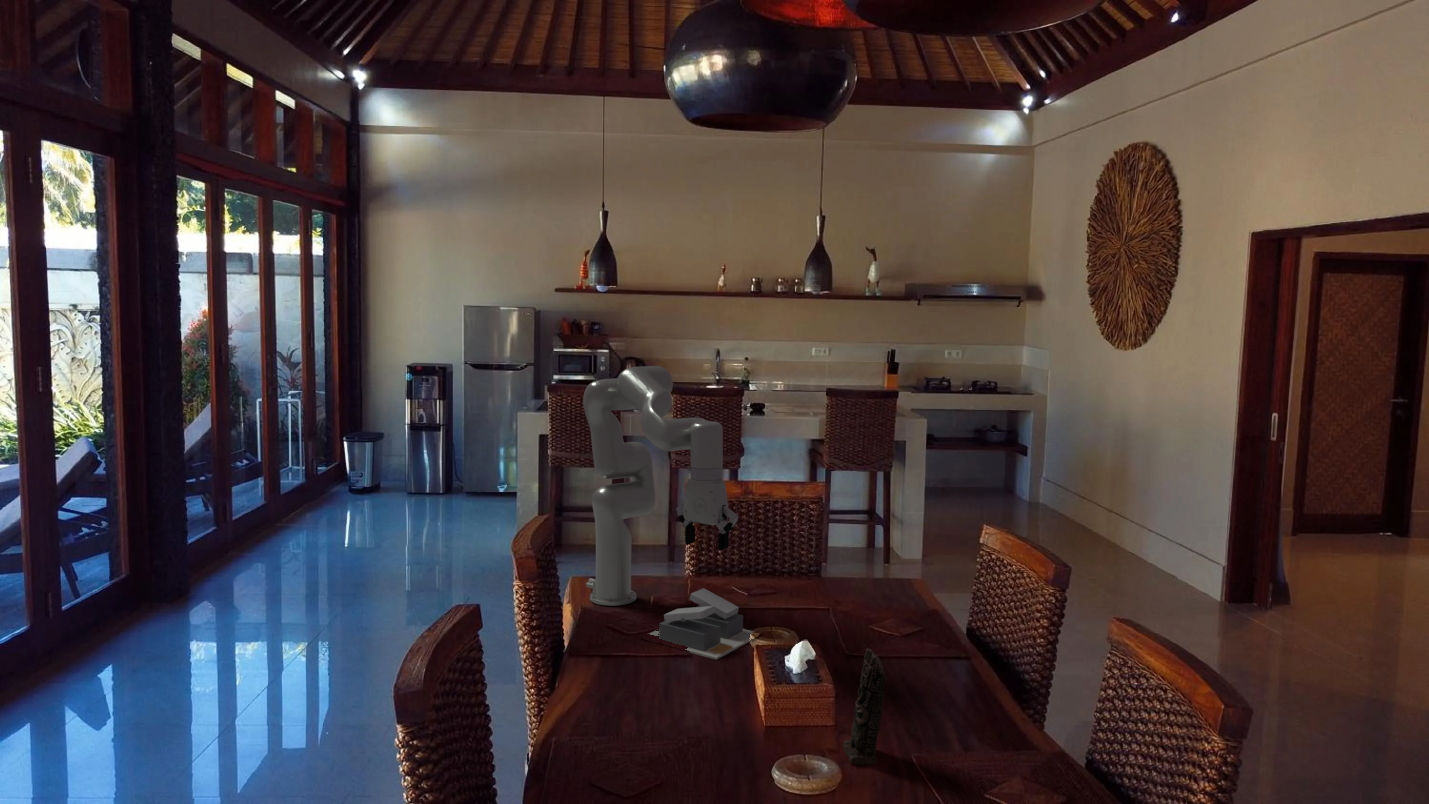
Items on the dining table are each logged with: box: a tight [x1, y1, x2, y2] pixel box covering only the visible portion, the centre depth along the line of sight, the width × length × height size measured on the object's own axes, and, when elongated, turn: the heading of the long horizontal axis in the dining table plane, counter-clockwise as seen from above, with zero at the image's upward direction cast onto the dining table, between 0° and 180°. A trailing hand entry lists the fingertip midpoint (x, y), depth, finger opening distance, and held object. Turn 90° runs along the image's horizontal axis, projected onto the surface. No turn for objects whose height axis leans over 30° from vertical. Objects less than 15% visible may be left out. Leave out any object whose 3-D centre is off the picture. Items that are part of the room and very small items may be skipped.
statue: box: [842, 648, 887, 765], centre depth 180 cm, size 7×7×20 cm
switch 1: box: [663, 606, 715, 623], centre depth 236 cm, size 11×6×2 cm, turn 56°
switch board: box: [648, 604, 753, 660], centre depth 241 cm, size 22×20×4 cm
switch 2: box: [689, 588, 740, 619], centre depth 244 cm, size 11×6×2 cm, turn 57°
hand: (706, 546), depth 233 cm, fingers open, 9 cm apart
